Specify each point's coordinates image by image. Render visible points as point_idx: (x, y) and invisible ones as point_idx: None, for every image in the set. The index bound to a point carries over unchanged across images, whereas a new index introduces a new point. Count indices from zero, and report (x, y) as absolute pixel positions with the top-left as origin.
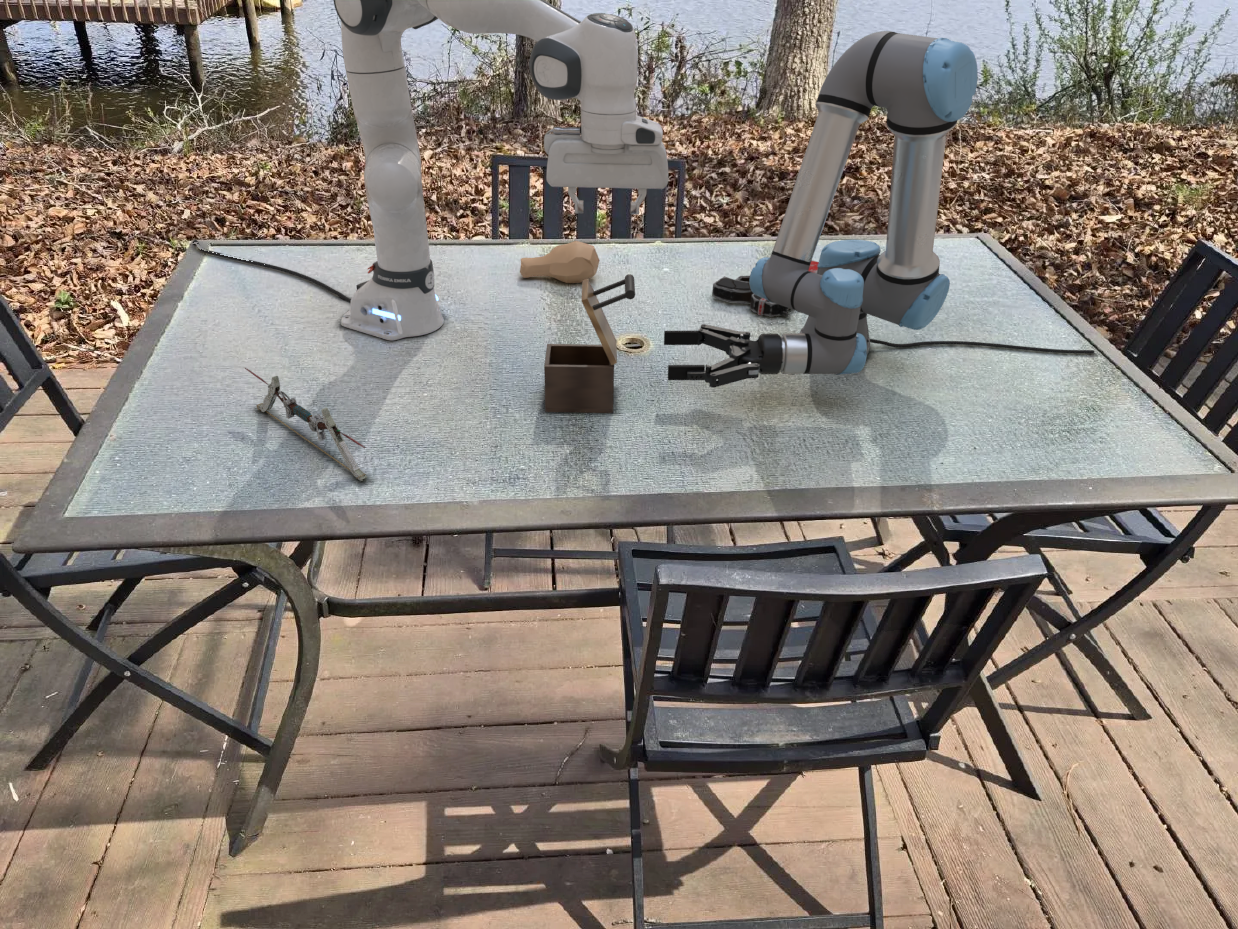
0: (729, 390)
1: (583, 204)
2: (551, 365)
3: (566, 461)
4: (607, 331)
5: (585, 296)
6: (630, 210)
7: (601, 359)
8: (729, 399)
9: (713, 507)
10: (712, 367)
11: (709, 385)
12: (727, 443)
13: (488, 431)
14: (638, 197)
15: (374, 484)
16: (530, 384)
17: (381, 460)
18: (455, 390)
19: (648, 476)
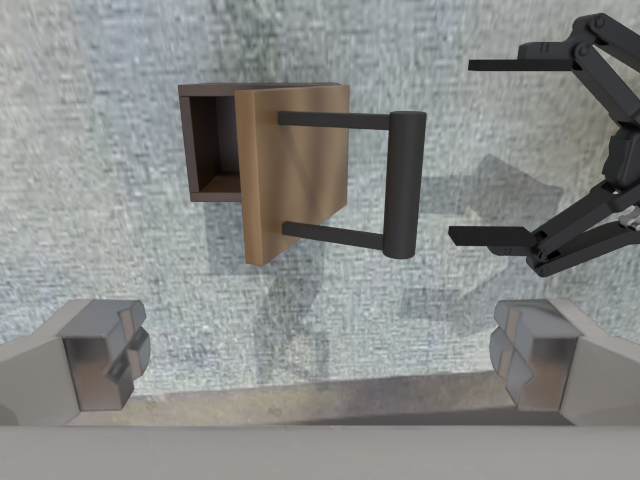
0: (573, 79)
1: (122, 329)
2: (205, 197)
3: (266, 314)
4: (326, 158)
5: (256, 247)
6: (500, 319)
7: None
8: (562, 117)
9: (456, 399)
10: (550, 245)
11: (526, 260)
12: (514, 263)
13: (133, 240)
14: (624, 393)
15: None
16: (169, 67)
17: (2, 318)
18: (28, 99)
19: (381, 344)
